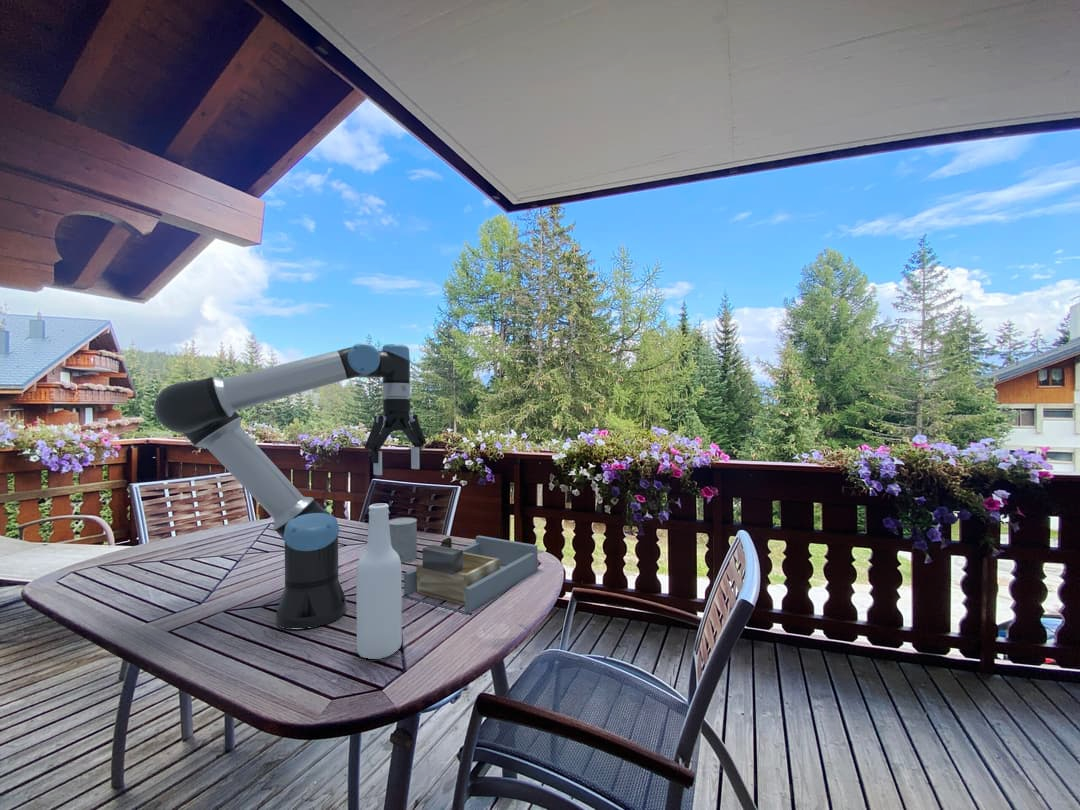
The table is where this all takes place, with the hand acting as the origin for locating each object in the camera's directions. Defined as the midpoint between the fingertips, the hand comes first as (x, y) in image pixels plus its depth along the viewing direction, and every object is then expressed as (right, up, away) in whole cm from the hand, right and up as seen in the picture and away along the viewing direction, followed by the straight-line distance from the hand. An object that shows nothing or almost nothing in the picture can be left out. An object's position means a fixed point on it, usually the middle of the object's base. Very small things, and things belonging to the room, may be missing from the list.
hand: (397, 471), depth 132 cm
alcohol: (+8, -32, -38) cm, 50 cm away
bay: (+23, -31, -4) cm, 39 cm away
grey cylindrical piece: (-5, -32, +20) cm, 38 cm away
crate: (+20, -30, -10) cm, 37 cm away
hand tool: (+7, -32, +21) cm, 39 cm away
